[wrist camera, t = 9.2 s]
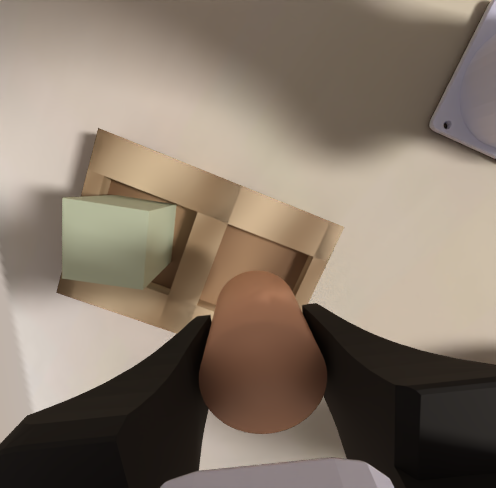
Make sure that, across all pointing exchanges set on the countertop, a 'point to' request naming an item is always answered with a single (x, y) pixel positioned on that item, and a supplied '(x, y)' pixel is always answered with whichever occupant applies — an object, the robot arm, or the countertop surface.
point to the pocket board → (202, 236)
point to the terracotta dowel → (261, 357)
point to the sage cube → (116, 239)
